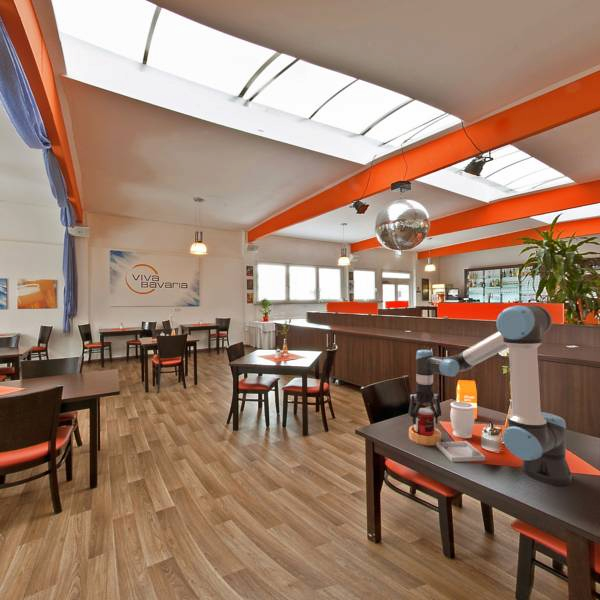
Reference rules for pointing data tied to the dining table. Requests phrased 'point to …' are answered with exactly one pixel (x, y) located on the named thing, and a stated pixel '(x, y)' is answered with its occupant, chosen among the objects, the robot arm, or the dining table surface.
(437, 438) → the bowl
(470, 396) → the orange juice
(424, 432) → the canned food
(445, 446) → the pebble
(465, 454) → the tray
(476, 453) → the pebble
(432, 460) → the dining table surface
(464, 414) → the jar
